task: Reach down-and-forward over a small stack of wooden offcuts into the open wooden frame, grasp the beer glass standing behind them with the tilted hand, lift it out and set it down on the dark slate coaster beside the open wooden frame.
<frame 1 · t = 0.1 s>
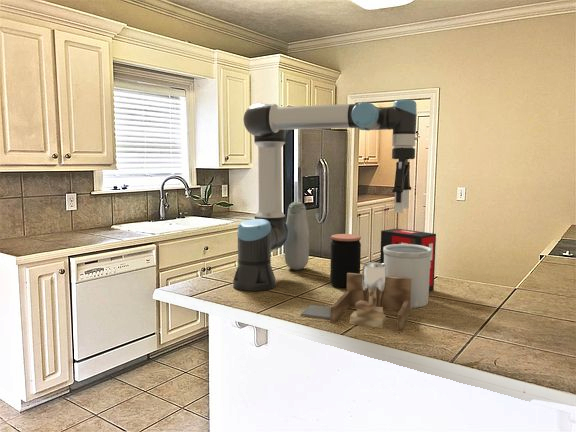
hand: (401, 210, 161), 28 cm above the worktop, tool pointing down, fingers open, 13 cm apart
coffee jar: (345, 285, 171), on the worktop
glass bottle: (296, 269, 196), on the worktop
coaster: (320, 312, 140), on the worktop
cleaning product box: (406, 288, 168), on the worktop
utensil holder: (405, 302, 151), on the worktop
open wooden frame: (371, 317, 136), on the worktop
beer glass: (373, 315, 138), resting in open wooden frame
offcut stack: (367, 323, 131), on the worktop
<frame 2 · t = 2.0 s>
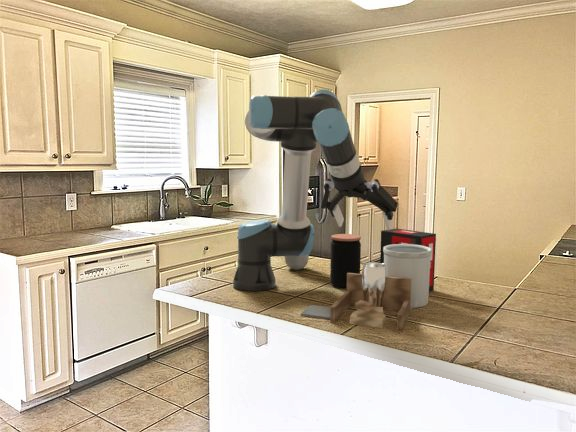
hand: (365, 224, 127), 28 cm above the worktop, tool tilted 45°, fingers open, 13 cm apart
nothing on the worktop moved.
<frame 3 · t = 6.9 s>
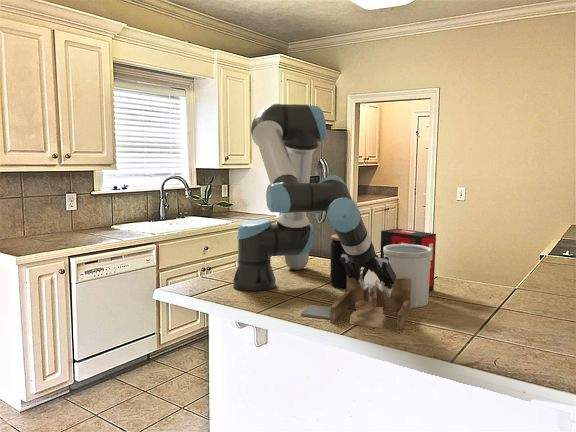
hand: (378, 290, 140), 6 cm above the worktop, tool tilted 45°, fingers closed on beer glass, 7 cm apart
beer glass: (373, 315, 138), resting in open wooden frame, touching gripper
everything else where it was.
when the fingers open (8 cm above the worktop, at t = 12.1 s): beer glass drops 1 cm, resting on coaster.
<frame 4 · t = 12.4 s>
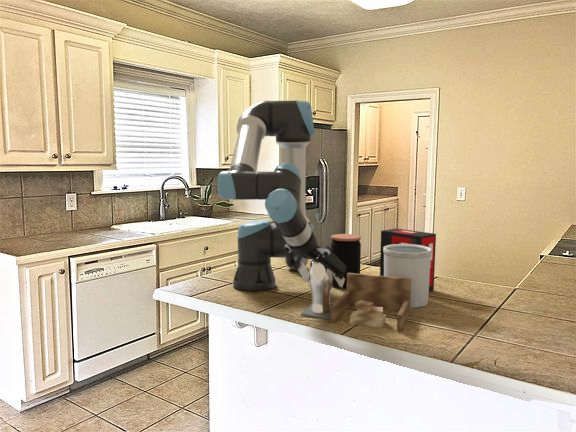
hand: (324, 280, 141), 9 cm above the worktop, tool tilted 45°, fingers open, 11 cm apart
beer glass: (320, 311, 140), resting on coaster
everything else where it was.
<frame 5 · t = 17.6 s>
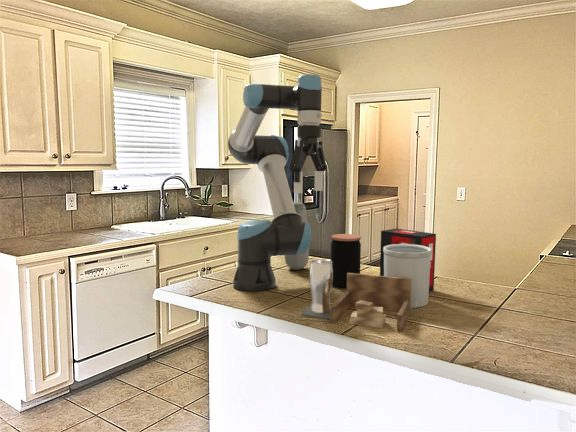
hand: (308, 191, 153), 35 cm above the worktop, tool pointing down, fingers open, 13 cm apart
nothing on the worktop moved.
at the end: beer glass inside the target area on the coaster (0.2 cm from its centre), point 0.4 cm above the coaster's base; beer glass tilted 0°; the gripper is holding nothing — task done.
